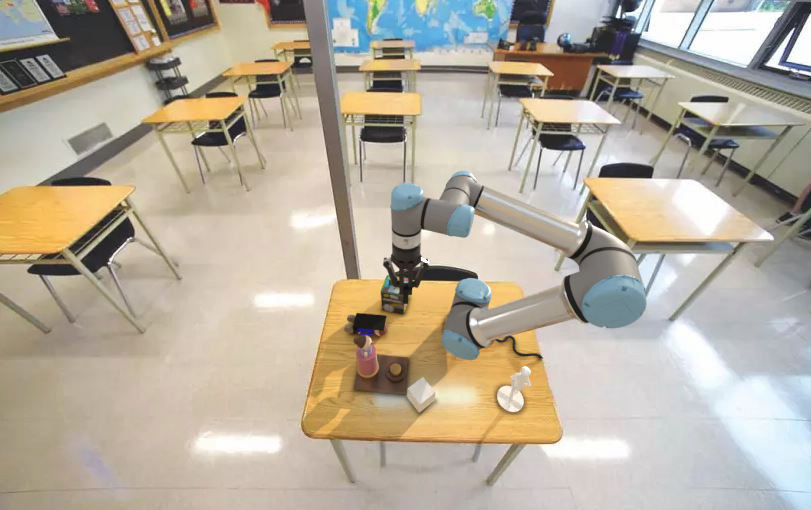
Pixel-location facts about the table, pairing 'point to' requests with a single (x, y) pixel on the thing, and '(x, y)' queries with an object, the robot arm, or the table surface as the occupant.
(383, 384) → the brown wooden base
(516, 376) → the figurine
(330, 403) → the table surface
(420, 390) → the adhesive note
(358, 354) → the doll
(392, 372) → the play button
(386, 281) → the chalk box
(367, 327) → the figurine character
